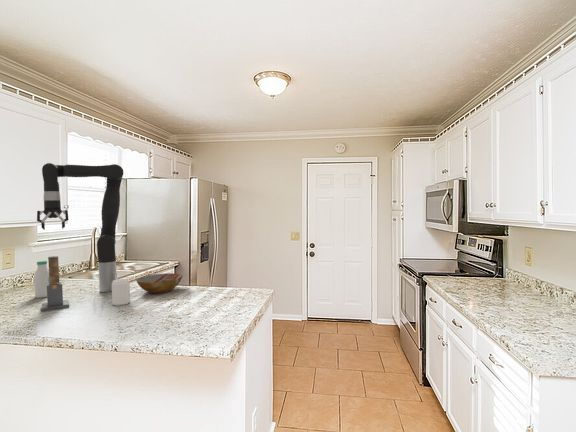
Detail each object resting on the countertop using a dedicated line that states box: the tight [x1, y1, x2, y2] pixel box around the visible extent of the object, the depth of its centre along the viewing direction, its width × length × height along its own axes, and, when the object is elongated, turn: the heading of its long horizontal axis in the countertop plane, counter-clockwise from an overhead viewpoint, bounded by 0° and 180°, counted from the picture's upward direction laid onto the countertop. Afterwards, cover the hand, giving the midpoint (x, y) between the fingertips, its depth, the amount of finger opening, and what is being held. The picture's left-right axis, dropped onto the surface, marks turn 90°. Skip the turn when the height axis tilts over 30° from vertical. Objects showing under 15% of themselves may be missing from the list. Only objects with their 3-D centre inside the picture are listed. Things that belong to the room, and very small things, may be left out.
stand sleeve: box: [40, 281, 70, 312], centre depth 165 cm, size 11×11×12 cm
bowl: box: [135, 272, 183, 295], centre depth 191 cm, size 25×25×8 cm
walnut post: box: [47, 255, 60, 285], centre depth 165 cm, size 4×4×17 cm
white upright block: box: [111, 278, 131, 307], centre depth 167 cm, size 8×8×12 cm
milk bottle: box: [33, 260, 49, 299], centre depth 187 cm, size 8×8×20 cm
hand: (53, 229), depth 184 cm, fingers open, 8 cm apart
